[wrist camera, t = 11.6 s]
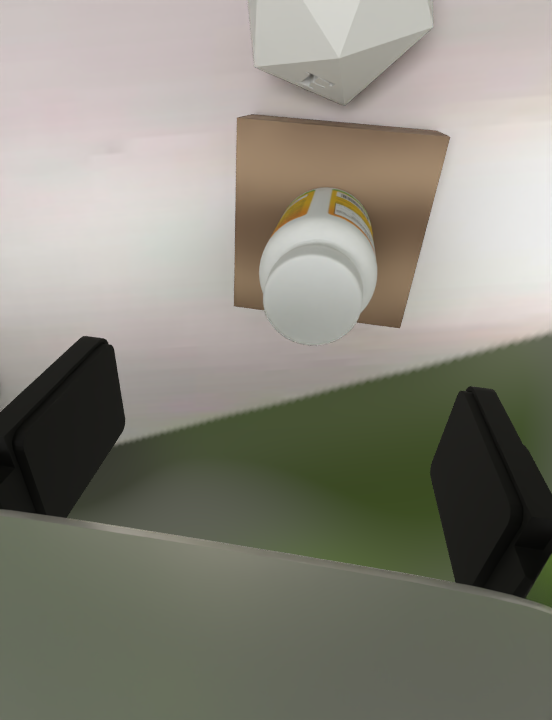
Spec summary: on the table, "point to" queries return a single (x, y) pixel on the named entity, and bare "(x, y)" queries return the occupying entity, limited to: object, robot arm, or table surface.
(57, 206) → the table surface
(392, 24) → the die
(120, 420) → the robot arm
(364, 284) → the supplement bottle
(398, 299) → the base block
